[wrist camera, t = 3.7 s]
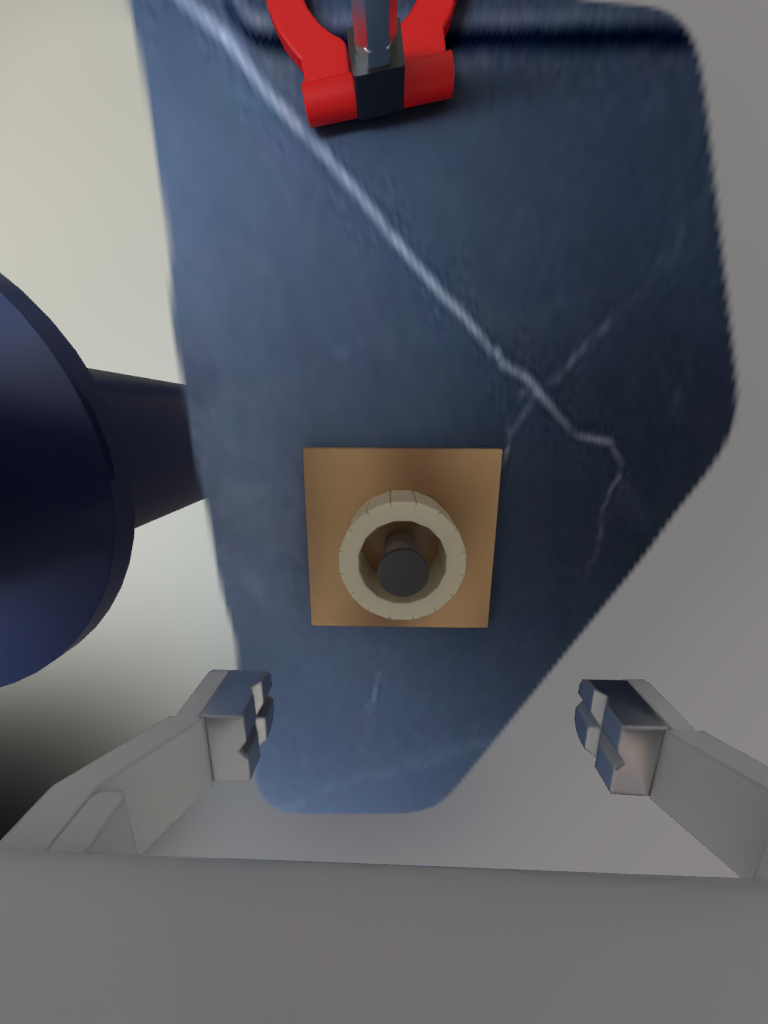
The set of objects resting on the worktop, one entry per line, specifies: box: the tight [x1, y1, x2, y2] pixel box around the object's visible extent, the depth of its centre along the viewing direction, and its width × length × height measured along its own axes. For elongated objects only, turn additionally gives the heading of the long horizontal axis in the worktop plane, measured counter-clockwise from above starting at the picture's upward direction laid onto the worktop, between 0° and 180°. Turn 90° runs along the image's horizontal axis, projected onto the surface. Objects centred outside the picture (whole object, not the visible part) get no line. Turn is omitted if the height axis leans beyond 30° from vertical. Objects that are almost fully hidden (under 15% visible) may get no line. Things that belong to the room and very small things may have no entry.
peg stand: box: [303, 447, 503, 628], centre depth 20 cm, size 11×11×5 cm
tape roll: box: [339, 490, 466, 620], centre depth 20 cm, size 6×6×3 cm
